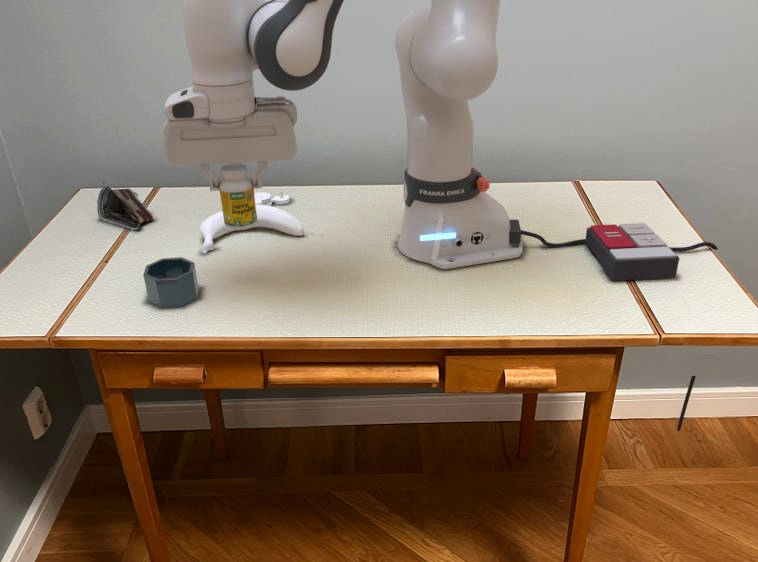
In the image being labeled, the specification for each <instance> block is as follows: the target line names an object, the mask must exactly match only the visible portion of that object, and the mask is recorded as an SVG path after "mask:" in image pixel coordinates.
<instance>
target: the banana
mask: <svg viewBox="0 0 758 562" xmlns="http://www.w3.org/2000/svg"><path fill="white" fill-rule="evenodd" d="M256 213H257V223H256V224H255V225H254V226H253V227H251V228H252V229H253V228H268V229H272V230H276V231H279V232H282V233H284V234H289V235H290V236H291V235H292V236H295V237H299V236H300V237H301V236H303V235H304V226H303V224H302V223H301V221H300V220H299V219H298V218H297V217H296V216H294V215H293V214H291V213H289V212H288V211H286V210H283V209H280V208H278V207H276V206H273V205H271V206H267V205H256ZM251 228H250V229H251ZM235 231H236V230H233V229H230V228H228V227H226V226H225V223H224V216H223V210H221V211H218V212H216V213H213V214H212V215H210V216H208V217H206V218H205V219H204V220H202V222H201V224H200V226H199V235H200V236H201V237H202V238H203V239H204V242H203V243H202V248H201V251H202V253H203V254H206V253H207V252H209V251H215V248H214V242H213V240H214V239H217V238H220V237H221V236H222V237H223V236H224V235H226V234H229V233H232V232H235Z"/></svg>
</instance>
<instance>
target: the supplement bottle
mask: <svg viewBox="0 0 758 562" xmlns="http://www.w3.org/2000/svg"><path fill="white" fill-rule="evenodd" d="M220 173H221V174H220V175H221V177H222V179H221V180H219V183H220V184H219V189H220V190H219V196H220V203H221V209H222V211H223V216H224V223H225V226H226V227H228V228H230V229H233V230H235V231H243V230H249V229H251V227H253V226H254V225H255V224H256V223H257V213H256V205H255V196H254V193H255V189H253V183H252V178H250V176H248V166H247V165H246V164H245V163H243V162H239V163H225V164H223V165H222V166H221V167H220ZM253 228H254V227H253Z"/></svg>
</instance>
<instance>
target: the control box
mask: <svg viewBox="0 0 758 562" xmlns="http://www.w3.org/2000/svg"><path fill="white" fill-rule="evenodd" d="M585 239H586V243H585V245H586V246H587V247H588V249H589V250H590V251H591V252H592V254H593V255H594V256H595V258H596V259H597V260H598V261H599V262H600V264H601V266H602V267H603V271H604V273H605V274H606V275H607V277H608V278H609V279H610V280H611V281H630V280H631V281H632V280H633V281H634V280H651V279H653V280H654V279H672V278H676V276H677V272H678V267H679V263H680V256H679V255H678V254H676V252H673V251H672V250H671V249H670V248H669V246H668V245H667V242H665V241H664V240H663V239H662V238H661V237H660V236H659V235H658V234H656V233H655V231H654V230H653V229H652V228H651V227H650V226H648V225H647V223H645V222H637V223H620V224H619V225H617V224H614V223H613V224H595V225H594V224H593V225H590V227H587V228H586V232H585Z"/></svg>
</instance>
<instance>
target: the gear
mask: <svg viewBox="0 0 758 562" xmlns="http://www.w3.org/2000/svg"><path fill="white" fill-rule="evenodd" d="M254 196H255V205H267V206H273V203H274V204H276V205H287V204H290V201H291V200H290V196H289V195H287V194H284V192H283V191H278V195H275V196H274V197H273V198H272V195H271V194H270V193H269V192H264V191H263V192H262V191H260V192H259V191H258V192H254Z"/></svg>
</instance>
